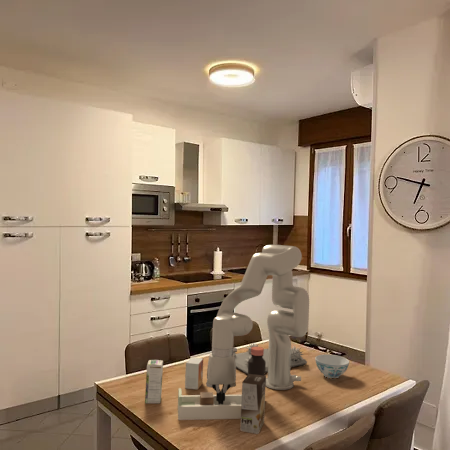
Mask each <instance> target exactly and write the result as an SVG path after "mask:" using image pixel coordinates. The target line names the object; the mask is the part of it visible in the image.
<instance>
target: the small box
mask: <svg viewBox="0 0 450 450" xmlns="http://www.w3.org/2000/svg"><path fill="white" fill-rule="evenodd" d="M184 374H185V375H184V377H185V378H184V379H185V381H184V388H185V389H190V390H196V391H197V390H199V388H201V386H202V384H203V375H204V358H203V357H202V358H201V357H190V358H189V359H188V360H187V361H186V362H185V373H184Z"/></svg>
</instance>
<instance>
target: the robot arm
mask: <svg viewBox="0 0 450 450" xmlns="http://www.w3.org/2000/svg"><path fill="white" fill-rule="evenodd" d="M251 256H252V257H251V259H250V260H249V263H248V264H247V268H246V270H245V273H244V275H243V277H242V280H241V282H240V284H239V286H237V287H236V288H235V289H233V290H232V291H231V292H230V293H229V294H228V295H226V297H224V299H223V301H222V302H221V305H220V307H219V309H218V311H217V314H216V317H214V318H213V321H212V338H211V339H212V340H211V341H212V343H211V347H212V348H211V353H209V356H208V360H207V369H206V370H207V371H206V379H207V380H206V383H205V386H206V387H207V388H212V389H213V390H214V391H215V392H216V394H215V395H216V401H218V403H219V404H223V401H225V395H226V393H227V391H228V390H230V389H231V388H233V387H237V382H236V381H237V368H236V364H235V356H234V354H233V353H234V352H235V353H238V348H237V347H234V337H238V336H239V337H240V336H241V337H243V336H246V335H248V334H249V333H250V332H251V331H252V330H253V327H254V324H253V323H254V322H253V320H252V317H250V316H248V315H246V314H243V313H238V312H235V309H236V308H237V306H238V305H239V304H241V303H242V302H244V301H246V300H249V299H252V298H255V297H259V296H260V295H261V294H262V291H263V289H264V287H265V284H266V281H267V278H268V276H272V281H271V282H272V283H271V284H272V286H271V301H272V304H273V305H274V306H275V307H277V308H278V307H279V308H282V309H274V310H272V311H270V312H269V313H268V315H267V318H266V320H267V321H266V324H267V329H268V348H269V352H268V372H267V377H266V388H269V389H272V390H275V391H276V390H279V391H285V390H286V391H287V390H290V389H292V388H294V382H301V381H302V376H301V375H299V376H298V375H296V374H291V367H290V366H291V349H292V341H291V339H290V337H294V338H295V337H296V338H303V337H304V336H305V335H306V334H307V332H308V328H309V319H310V318H309V316H310V314H309V313H310V297H309V296H310V295H309V292H308V291H307V289H305V288H303V287H299V286H294V283H293V278H294V277H293V276H294V275H293V269H295V268H297V267H298V265H300V263H301V261H302V257H303V256H302V252H301V249H300V248H299V247H297V246H295V245H294V246H293V245H285V244H284V245H281V244H267V245H265V246H263V247H262V250H261V252H256V253H254V254H253V255H251ZM283 308H284V309H287V310H284V309H283ZM288 310H292V311H288ZM220 385H222V387H221V389H220Z"/></svg>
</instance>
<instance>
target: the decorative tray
mask: <svg viewBox="0 0 450 450" xmlns="http://www.w3.org/2000/svg"><path fill="white" fill-rule="evenodd" d="M248 345H249V346H246V349H247V350H246V351H245V352H239V353H238V352H234V353H233V354H234V356H235V364H236V369H238V370H240V371H242V372H243V373H245V374H247V375H248V360H249V359H250V358H251V357H252V356H251V348H252V347H259V344H255V343H248ZM263 349H264V355H263V359H264V360H265V362H266V366H265V373H268V352H269V347H268V348H263ZM303 352H304V351H301V347H297V346H296V345H292V347H291V366H290V368H294V367H300V366H304V365H306V364H307V363H308V361H307V359H305V358H304V357H303V355H305V354H304V353H303Z"/></svg>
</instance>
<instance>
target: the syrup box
mask: <svg viewBox="0 0 450 450" xmlns="http://www.w3.org/2000/svg"><path fill="white" fill-rule="evenodd" d="M163 365H164V360H161V359H160V360H159V359H149V360H148V362H147V365H146V374H145V375H146V376H145V395H144V403H145V404H161V400H162V394H163V393H162V391H163V388H162V387H163V367H164V366H163Z"/></svg>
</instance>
